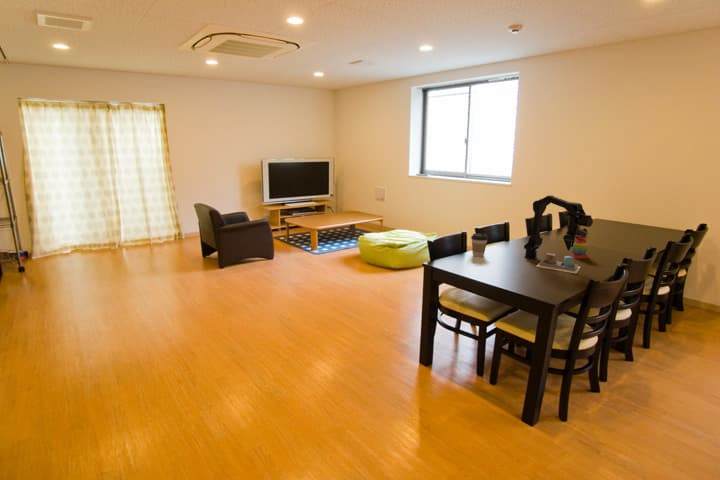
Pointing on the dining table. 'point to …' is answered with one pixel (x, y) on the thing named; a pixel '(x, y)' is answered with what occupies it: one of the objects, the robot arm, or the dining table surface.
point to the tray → (559, 266)
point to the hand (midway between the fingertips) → (570, 248)
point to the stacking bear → (580, 248)
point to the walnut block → (550, 258)
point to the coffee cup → (479, 244)
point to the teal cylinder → (568, 261)
